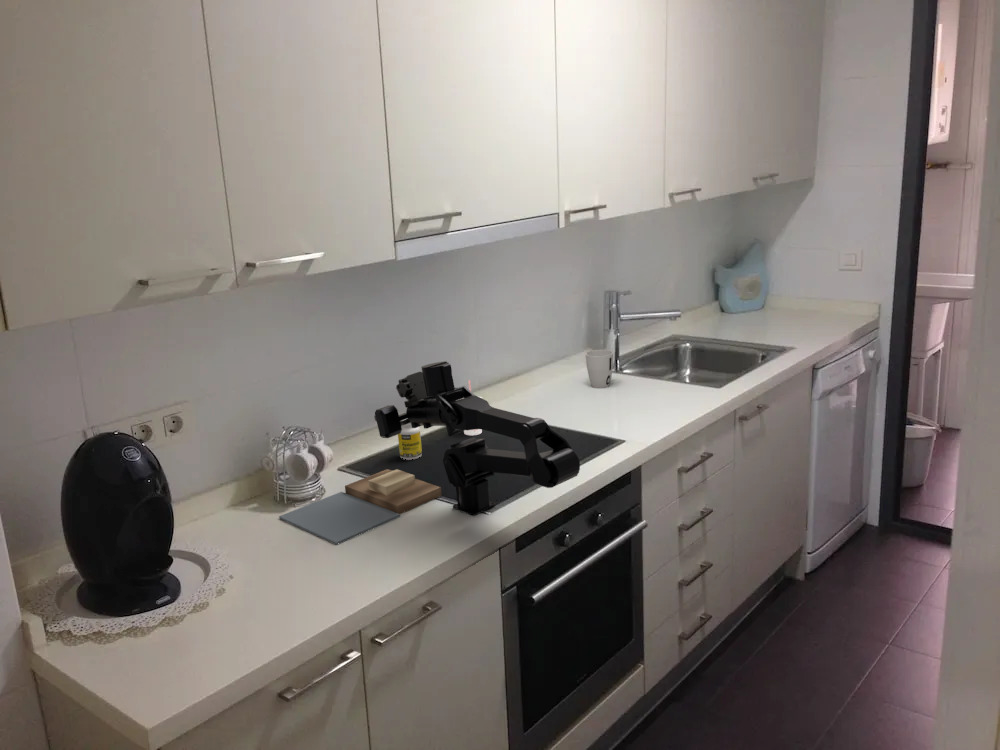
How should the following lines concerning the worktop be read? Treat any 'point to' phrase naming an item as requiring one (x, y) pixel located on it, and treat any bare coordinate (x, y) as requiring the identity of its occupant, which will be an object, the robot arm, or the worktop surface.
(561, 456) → the robot arm
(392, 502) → the walnut board
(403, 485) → the birch tile
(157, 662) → the worktop surface
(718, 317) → the worktop surface
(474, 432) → the beverage cup
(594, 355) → the cup
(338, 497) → the slate mat
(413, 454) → the supplement bottle
